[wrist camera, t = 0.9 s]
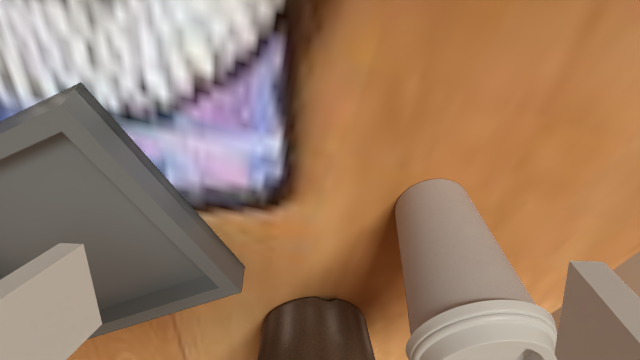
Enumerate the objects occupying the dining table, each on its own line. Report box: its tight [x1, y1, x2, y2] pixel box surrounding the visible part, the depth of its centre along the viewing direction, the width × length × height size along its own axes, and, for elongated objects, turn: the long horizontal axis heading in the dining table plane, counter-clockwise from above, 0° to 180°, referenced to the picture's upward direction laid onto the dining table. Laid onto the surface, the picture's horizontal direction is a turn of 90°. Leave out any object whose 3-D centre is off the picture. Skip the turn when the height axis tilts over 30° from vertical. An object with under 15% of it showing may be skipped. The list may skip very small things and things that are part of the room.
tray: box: [0, 83, 245, 339], centre depth 36 cm, size 22×22×3 cm
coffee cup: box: [395, 179, 557, 360], centre depth 32 cm, size 10×10×15 cm
